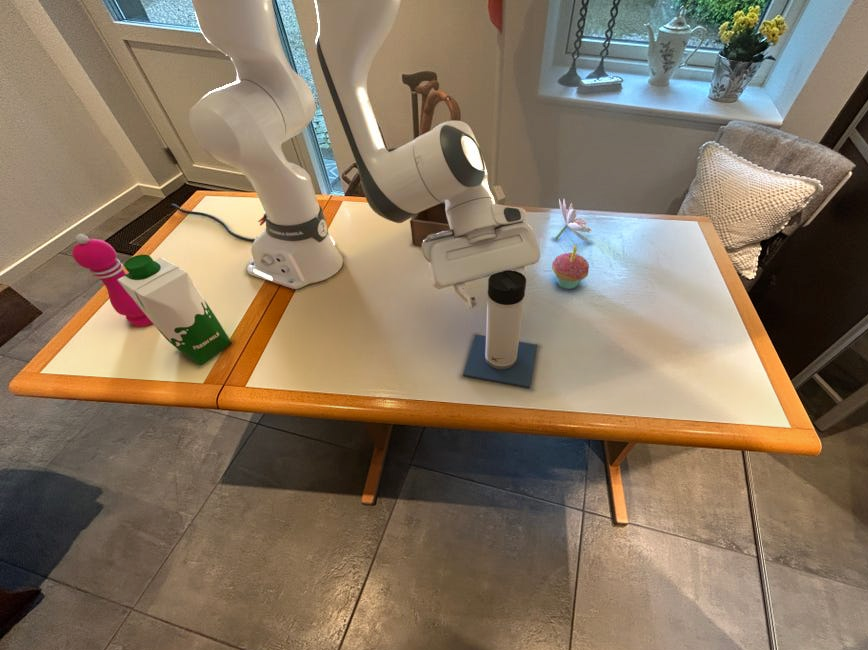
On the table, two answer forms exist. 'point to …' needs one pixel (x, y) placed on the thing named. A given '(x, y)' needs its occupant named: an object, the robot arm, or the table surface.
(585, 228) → the water lily
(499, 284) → the travel mug
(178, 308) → the milk carton
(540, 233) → the table surface
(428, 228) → the cubby
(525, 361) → the mat
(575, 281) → the cupcake
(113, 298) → the pepper mill
